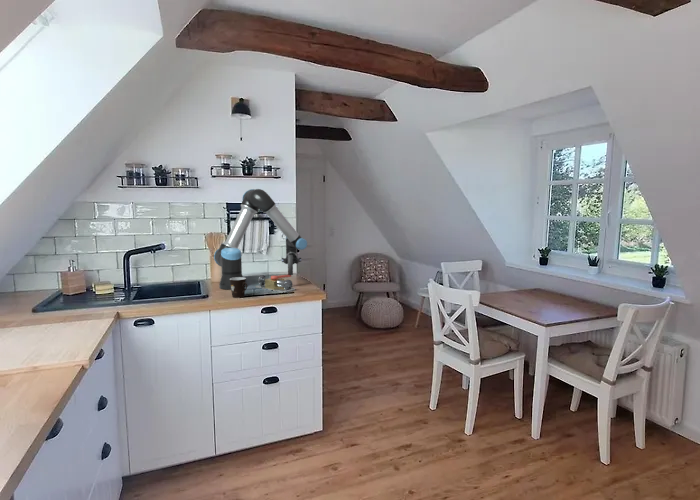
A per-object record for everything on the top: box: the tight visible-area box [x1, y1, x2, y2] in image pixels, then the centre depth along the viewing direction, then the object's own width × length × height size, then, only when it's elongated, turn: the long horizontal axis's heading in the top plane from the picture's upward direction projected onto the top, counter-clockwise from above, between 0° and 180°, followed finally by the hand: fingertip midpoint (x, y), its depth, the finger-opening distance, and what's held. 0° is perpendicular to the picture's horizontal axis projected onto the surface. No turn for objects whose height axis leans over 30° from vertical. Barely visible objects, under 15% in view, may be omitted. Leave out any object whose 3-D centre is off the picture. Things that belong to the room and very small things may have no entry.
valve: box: [254, 275, 296, 294], centre depth 244 cm, size 24×10×7 cm, turn 52°
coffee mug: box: [230, 276, 248, 299], centre depth 222 cm, size 12×9×10 cm
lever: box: [270, 255, 294, 279], centre depth 246 cm, size 14×4×13 cm, turn 124°
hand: (291, 263), depth 250 cm, fingers closed
